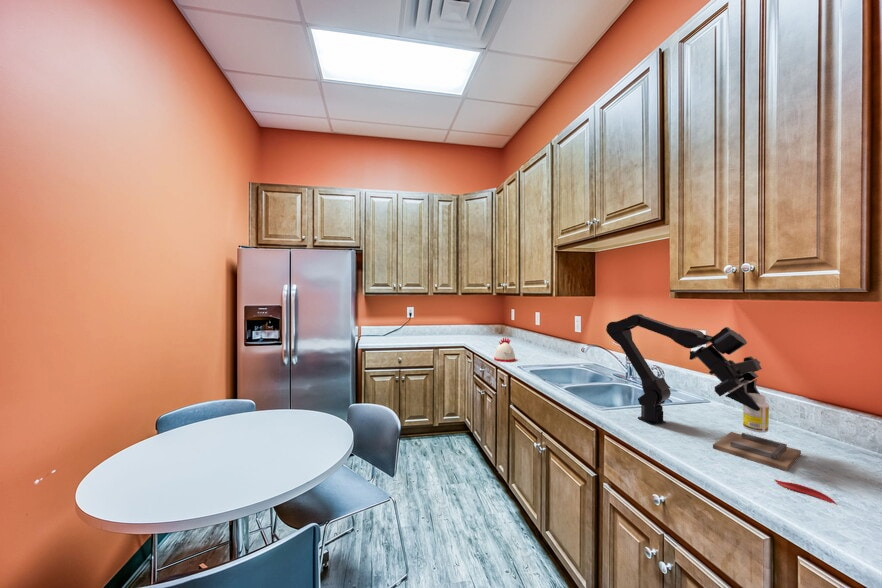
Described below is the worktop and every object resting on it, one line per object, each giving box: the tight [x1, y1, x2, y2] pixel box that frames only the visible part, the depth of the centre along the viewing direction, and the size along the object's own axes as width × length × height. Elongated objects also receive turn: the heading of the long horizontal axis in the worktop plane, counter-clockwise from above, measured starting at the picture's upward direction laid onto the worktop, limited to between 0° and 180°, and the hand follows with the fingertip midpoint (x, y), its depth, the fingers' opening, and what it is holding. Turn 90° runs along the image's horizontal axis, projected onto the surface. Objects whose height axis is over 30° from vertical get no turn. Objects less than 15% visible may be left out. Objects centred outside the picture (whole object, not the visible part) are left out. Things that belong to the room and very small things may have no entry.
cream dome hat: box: [493, 337, 516, 363], centre depth 234 cm, size 14×14×15 cm
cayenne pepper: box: [773, 478, 838, 506], centre depth 82 cm, size 12×5×2 cm, turn 14°
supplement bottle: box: [742, 393, 770, 434], centre depth 102 cm, size 6×6×10 cm
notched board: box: [712, 431, 802, 472], centre depth 102 cm, size 16×16×3 cm
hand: (761, 408), depth 101 cm, fingers closed on supplement bottle, 6 cm apart
